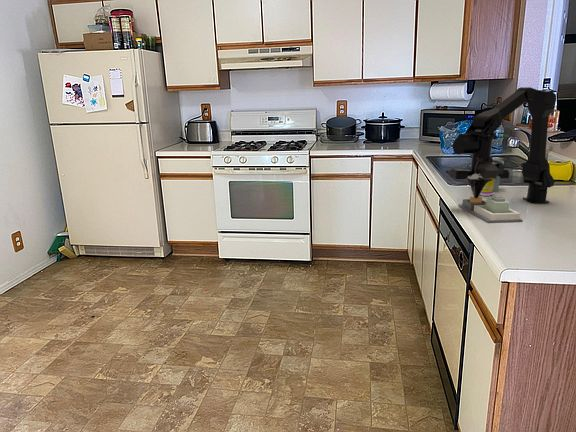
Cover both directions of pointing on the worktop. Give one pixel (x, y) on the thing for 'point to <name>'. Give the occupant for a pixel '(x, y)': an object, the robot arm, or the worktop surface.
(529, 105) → the robot arm
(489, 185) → the supplement bottle
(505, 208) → the pale green block
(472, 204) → the chassis
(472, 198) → the click button
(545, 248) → the worktop surface
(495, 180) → the drinking glass
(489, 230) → the worktop surface
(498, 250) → the worktop surface
